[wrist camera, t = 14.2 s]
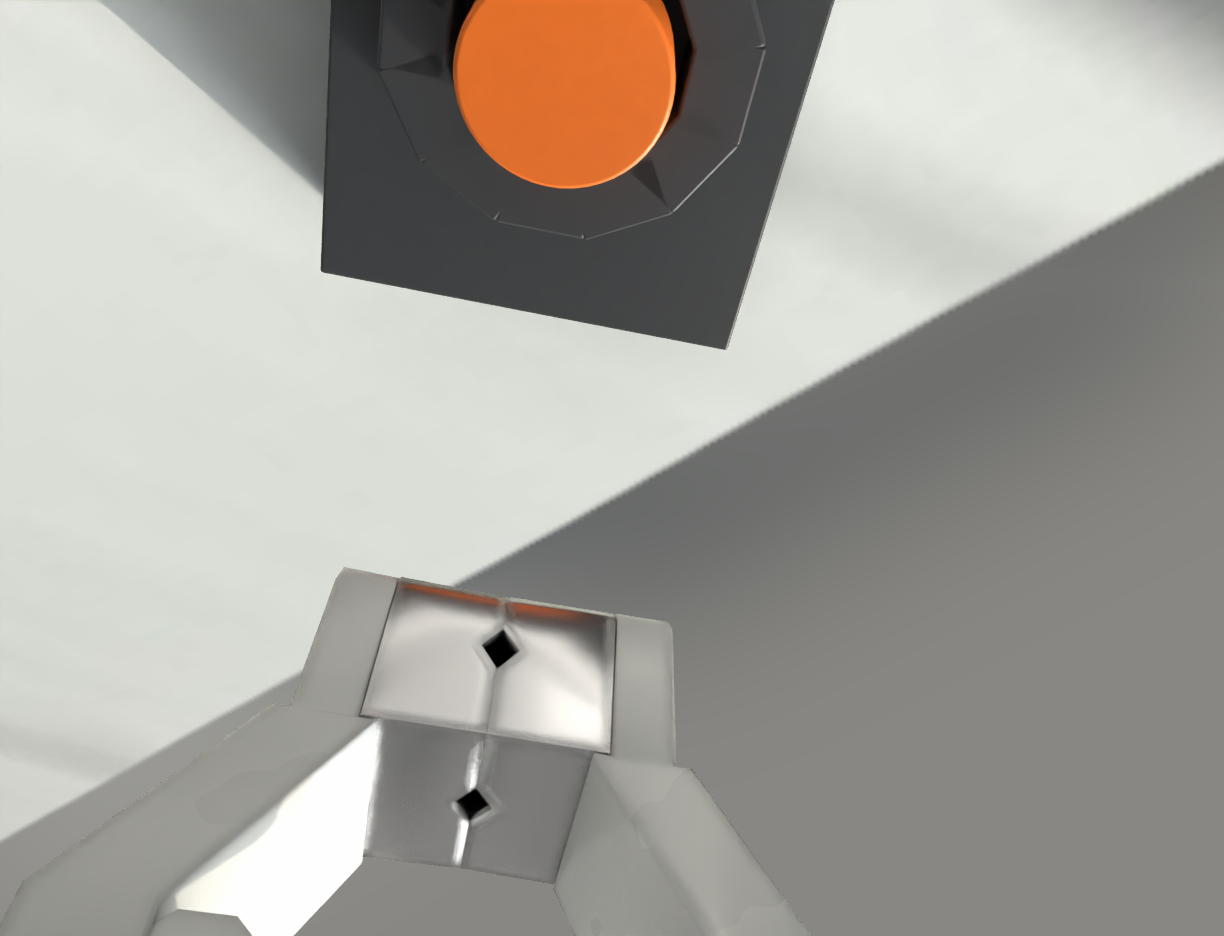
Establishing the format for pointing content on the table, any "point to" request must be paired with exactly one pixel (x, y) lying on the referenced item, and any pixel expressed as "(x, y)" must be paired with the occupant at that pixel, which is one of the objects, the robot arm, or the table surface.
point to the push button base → (564, 217)
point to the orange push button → (565, 85)
